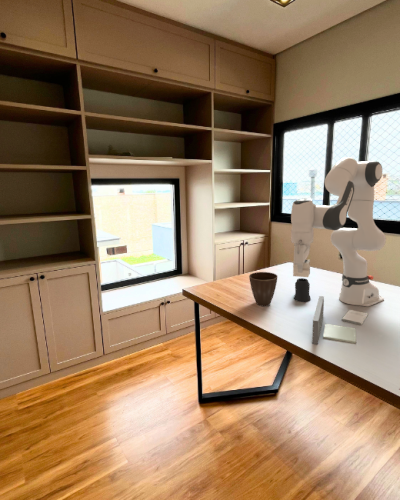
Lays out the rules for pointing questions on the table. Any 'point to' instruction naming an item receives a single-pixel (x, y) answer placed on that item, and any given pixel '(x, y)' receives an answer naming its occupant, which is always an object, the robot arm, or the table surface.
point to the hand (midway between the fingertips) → (301, 269)
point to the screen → (318, 320)
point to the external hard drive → (355, 317)
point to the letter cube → (305, 269)
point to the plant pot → (263, 287)
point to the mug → (302, 290)
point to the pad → (339, 333)
